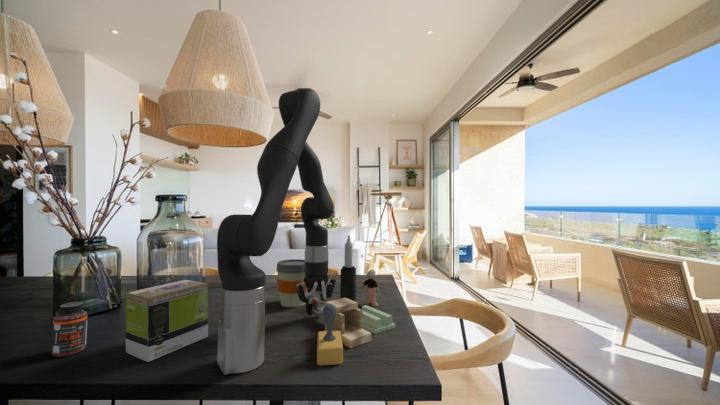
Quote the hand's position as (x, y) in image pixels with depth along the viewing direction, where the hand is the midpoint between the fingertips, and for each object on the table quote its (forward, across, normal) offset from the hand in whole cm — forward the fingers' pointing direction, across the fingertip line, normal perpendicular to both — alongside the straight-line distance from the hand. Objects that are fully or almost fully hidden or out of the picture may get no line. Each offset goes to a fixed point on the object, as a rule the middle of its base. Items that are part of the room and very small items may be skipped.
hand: (315, 312), depth 95 cm
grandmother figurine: (+2, -23, 0) cm, 23 cm away
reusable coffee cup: (+2, -1, -18) cm, 18 cm away
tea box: (+2, +39, -5) cm, 40 cm away
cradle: (+1, -11, +14) cm, 18 cm away
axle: (-3, 0, +5) cm, 6 cm away
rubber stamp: (+2, +9, +23) cm, 25 cm away
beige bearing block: (+1, 0, +18) cm, 18 cm away
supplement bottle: (+2, +58, -15) cm, 60 cm away
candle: (+2, -17, -6) cm, 18 cm away
